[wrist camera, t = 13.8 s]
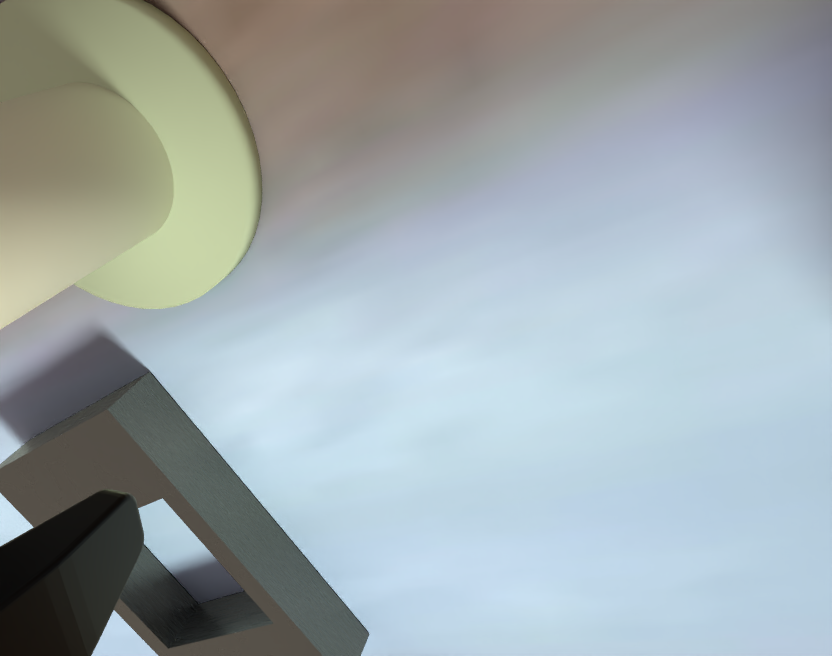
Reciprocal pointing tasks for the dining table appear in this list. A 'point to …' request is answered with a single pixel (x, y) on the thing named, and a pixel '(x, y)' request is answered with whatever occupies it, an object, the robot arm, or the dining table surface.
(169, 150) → the sage mat
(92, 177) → the cream round peg
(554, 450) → the dining table surface
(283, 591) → the dark grey peg holder
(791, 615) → the dining table surface
